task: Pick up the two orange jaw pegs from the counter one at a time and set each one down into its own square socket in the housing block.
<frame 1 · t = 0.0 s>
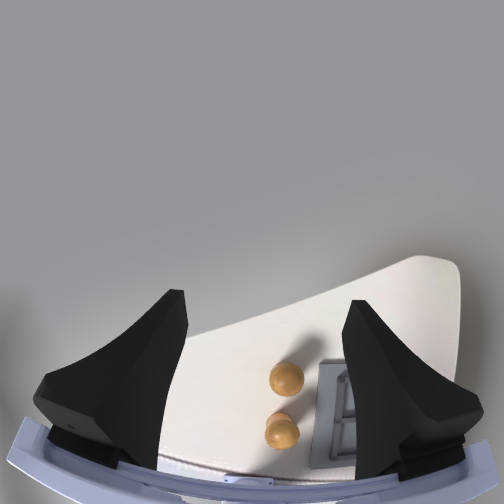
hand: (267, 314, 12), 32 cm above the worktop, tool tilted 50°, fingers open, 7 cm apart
jaw peg 1: (279, 424, 38), on the worktop
jaw peg 2: (282, 375, 41), on the worktop
housing: (354, 416, 38), on the worktop
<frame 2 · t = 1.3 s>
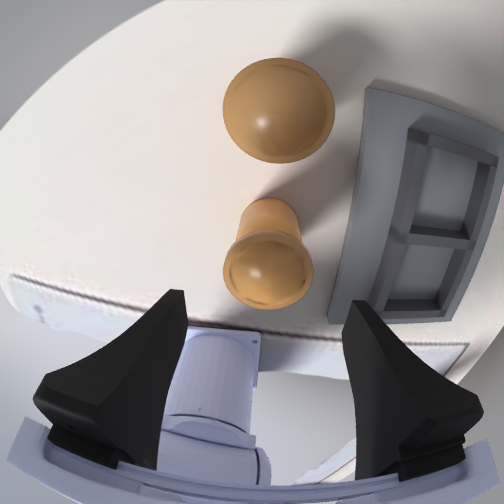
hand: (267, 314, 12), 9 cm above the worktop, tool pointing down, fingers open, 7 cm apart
jaw peg 1: (269, 225, 20), on the worktop
jaw peg 2: (276, 107, 16), on the worktop
housing: (425, 226, 19), on the worktop
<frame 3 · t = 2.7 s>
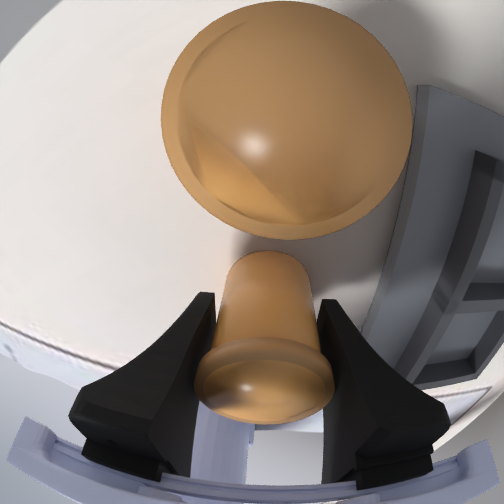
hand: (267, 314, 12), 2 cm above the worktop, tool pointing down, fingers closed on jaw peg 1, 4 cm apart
jaw peg 1: (267, 287, 14), on the worktop, touching gripper
jaw peg 2: (279, 110, 10), on the worktop
housing: (473, 278, 13), on the worktop
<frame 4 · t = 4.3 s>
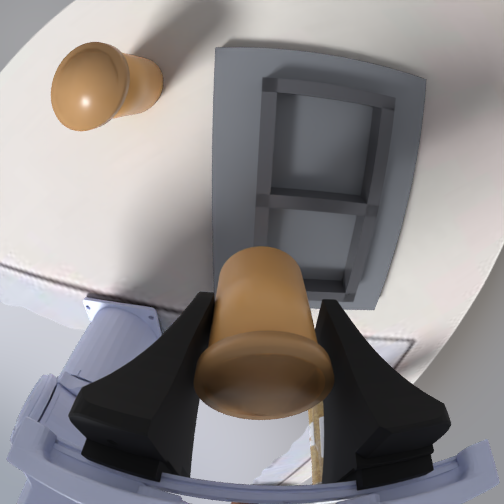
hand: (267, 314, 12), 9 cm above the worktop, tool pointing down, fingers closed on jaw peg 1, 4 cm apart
sprinkles bottle: (324, 399, 31), on the worktop
jaw peg 1: (260, 282, 14), point 7 cm above the worktop, touching gripper
jaw peg 2: (135, 85, 15), on the worktop
housing: (313, 191, 18), on the worktop
when the fingers open (4 cm above the worktop, at t = 5.9 s): jaw peg 1 stays where it is, resting on housing.
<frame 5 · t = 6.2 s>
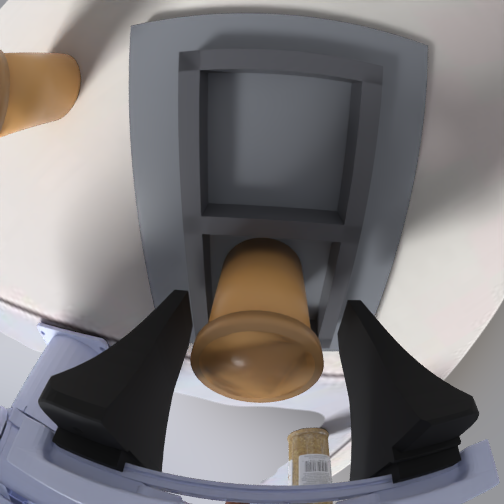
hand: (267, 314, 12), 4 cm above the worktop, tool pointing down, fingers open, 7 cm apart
coffee cup: (238, 500, 54), on the worktop
sprinkles bottle: (308, 432, 26), on the worktop
jaw peg 1: (262, 273, 14), point 1 cm above the worktop, touching housing
jaw peg 2: (54, 87, 11), on the worktop
housing: (272, 206, 14), on the worktop
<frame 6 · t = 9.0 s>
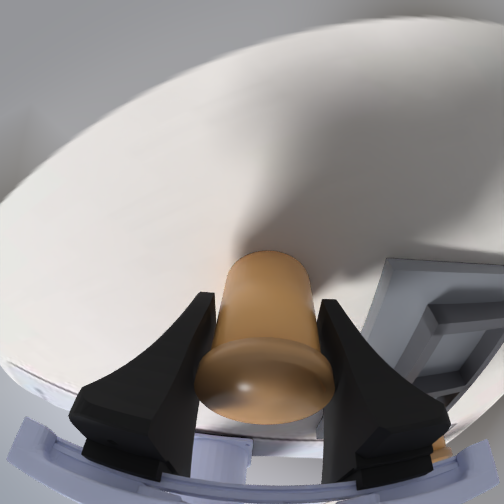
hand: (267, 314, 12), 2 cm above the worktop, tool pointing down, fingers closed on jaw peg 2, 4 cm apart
jaw peg 1: (406, 402, 18), point 1 cm above the worktop, touching housing
jaw peg 2: (267, 287, 14), on the worktop, touching gripper
housing: (423, 368, 17), on the worktop
when the fingers open (4 cm above the worktop, at t = 12.4 s): jaw peg 2 stays where it is, resting on housing.
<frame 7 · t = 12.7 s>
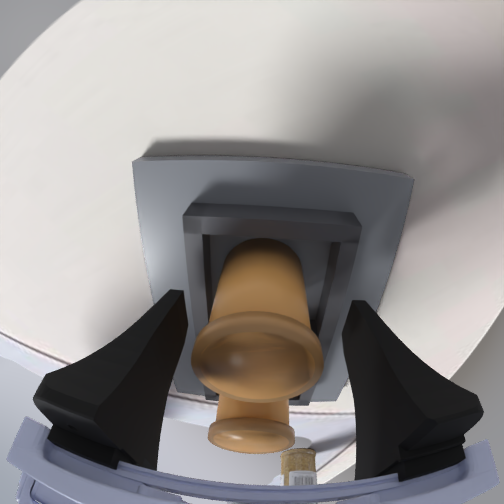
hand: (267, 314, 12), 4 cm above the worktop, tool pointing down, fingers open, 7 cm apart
coffee cup: (238, 503, 57), on the worktop
sprinkles bottle: (298, 451, 30), on the worktop
jaw peg 1: (256, 357, 18), point 1 cm above the worktop, touching housing
jaw peg 2: (262, 273, 14), point 1 cm above the worktop, touching housing
housing: (264, 311, 17), on the worktop
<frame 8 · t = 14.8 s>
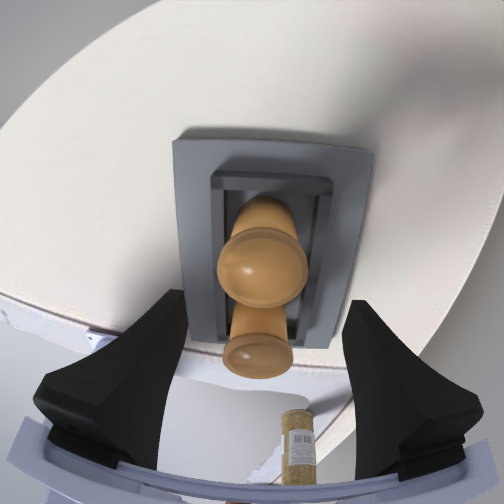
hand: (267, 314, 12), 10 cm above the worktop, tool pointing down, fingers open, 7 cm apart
coffee cup: (239, 486, 62), on the worktop
sprinkles bottle: (297, 413, 35), on the worktop
jaw peg 1: (260, 299, 23), point 1 cm above the worktop, touching housing
jaw peg 2: (264, 223, 20), point 1 cm above the worktop, touching housing
housing: (266, 258, 22), on the worktop
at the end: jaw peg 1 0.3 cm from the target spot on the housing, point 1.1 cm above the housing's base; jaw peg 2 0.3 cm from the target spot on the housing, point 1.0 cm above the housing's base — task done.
